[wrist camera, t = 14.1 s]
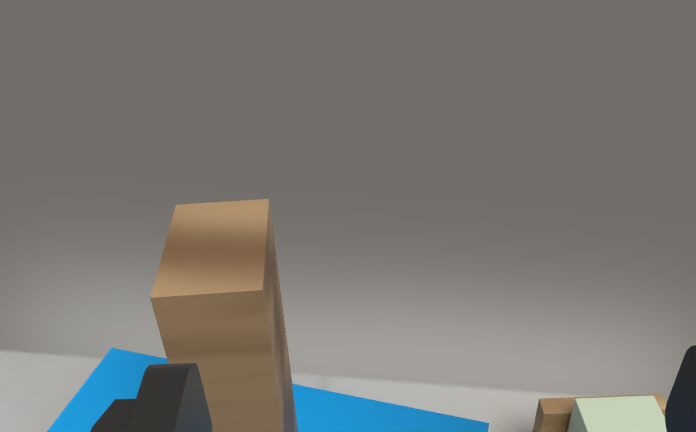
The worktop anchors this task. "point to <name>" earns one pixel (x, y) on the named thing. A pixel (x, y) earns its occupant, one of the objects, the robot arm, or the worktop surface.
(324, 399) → the book
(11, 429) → the worktop surface
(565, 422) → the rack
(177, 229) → the tall wooden block
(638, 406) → the offcut upper
